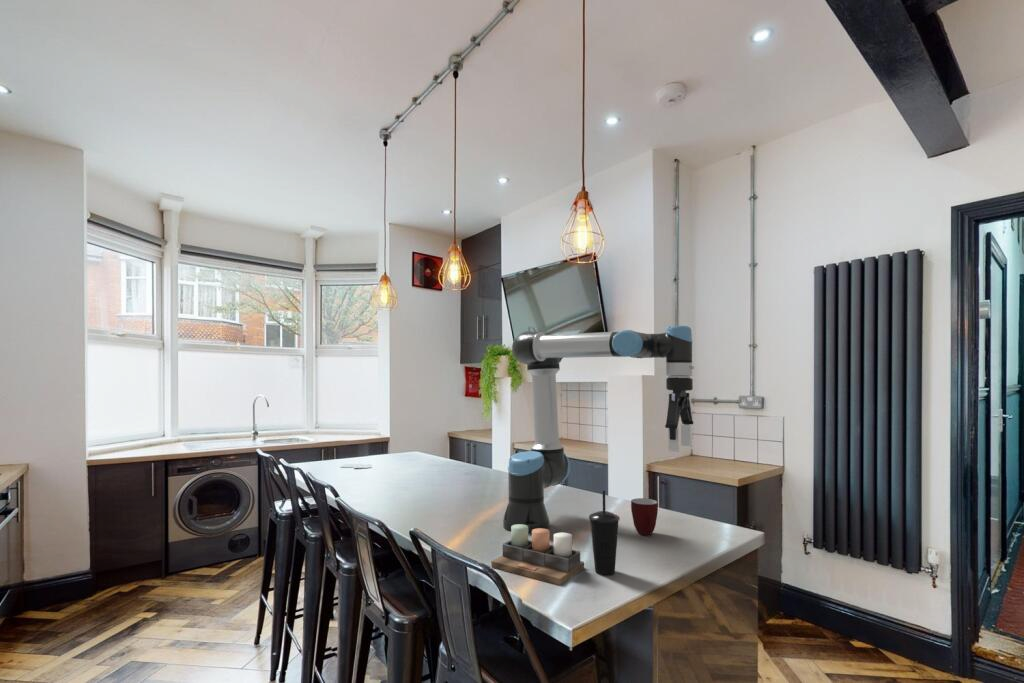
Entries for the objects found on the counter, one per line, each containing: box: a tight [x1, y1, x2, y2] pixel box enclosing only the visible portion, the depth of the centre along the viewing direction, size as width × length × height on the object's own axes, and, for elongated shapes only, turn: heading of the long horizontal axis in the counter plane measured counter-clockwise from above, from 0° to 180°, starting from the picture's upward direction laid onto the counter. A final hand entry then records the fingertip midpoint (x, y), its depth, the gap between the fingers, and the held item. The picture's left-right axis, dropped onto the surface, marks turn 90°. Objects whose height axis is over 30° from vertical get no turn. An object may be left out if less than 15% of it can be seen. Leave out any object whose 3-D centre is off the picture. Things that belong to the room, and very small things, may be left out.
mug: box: [630, 497, 659, 537], centre depth 156 cm, size 11×8×10 cm
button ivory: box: [553, 532, 573, 558], centre depth 127 cm, size 5×5×5 cm
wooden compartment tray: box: [490, 539, 585, 586], centre depth 129 cm, size 20×13×4 cm, turn 56°
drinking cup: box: [588, 490, 621, 577], centre depth 127 cm, size 8×8×20 cm
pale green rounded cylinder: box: [510, 524, 529, 548], centre depth 134 cm, size 5×5×5 cm
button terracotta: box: [531, 528, 551, 553], centre depth 131 cm, size 5×5×5 cm
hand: (680, 448), depth 150 cm, fingers open, 13 cm apart
